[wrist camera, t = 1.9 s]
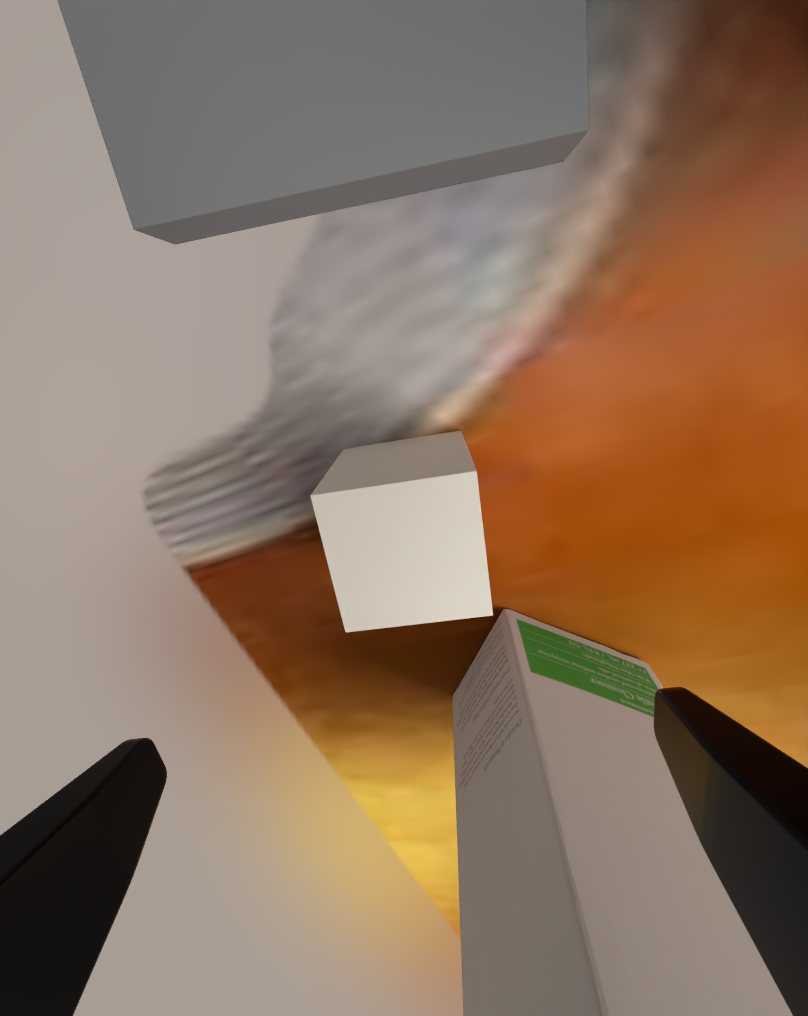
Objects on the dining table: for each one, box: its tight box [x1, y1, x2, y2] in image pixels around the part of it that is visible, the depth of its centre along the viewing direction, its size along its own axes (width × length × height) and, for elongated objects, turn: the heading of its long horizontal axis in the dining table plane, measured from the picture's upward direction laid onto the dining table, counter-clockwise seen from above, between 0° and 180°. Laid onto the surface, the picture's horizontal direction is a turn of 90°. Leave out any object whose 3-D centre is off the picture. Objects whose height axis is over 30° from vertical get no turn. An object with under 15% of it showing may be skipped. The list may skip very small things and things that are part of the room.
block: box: [310, 430, 493, 632], centre depth 17 cm, size 5×5×6 cm
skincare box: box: [452, 609, 793, 1016], centre depth 16 cm, size 8×7×16 cm
